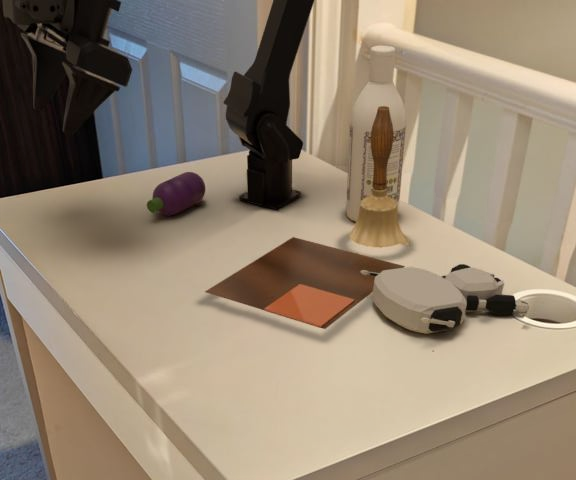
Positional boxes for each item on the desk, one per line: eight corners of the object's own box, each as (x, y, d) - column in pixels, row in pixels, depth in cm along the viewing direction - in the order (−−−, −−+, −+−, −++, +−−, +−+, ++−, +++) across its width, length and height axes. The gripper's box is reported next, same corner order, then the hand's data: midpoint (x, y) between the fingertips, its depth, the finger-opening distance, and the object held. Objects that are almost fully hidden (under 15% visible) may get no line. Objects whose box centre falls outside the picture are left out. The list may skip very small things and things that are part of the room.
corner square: (299, 285, 92) (299, 283, 92) (354, 301, 89) (354, 299, 89) (264, 310, 87) (264, 308, 87) (320, 327, 85) (320, 325, 84)
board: (293, 246, 103) (293, 236, 102) (404, 275, 97) (405, 265, 96) (205, 301, 92) (204, 291, 91) (324, 339, 85) (325, 328, 84)
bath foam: (408, 217, 110) (425, 49, 97) (371, 230, 107) (382, 57, 94) (372, 202, 114) (383, 39, 101) (335, 214, 111) (341, 47, 98)
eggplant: (188, 196, 116) (186, 165, 113) (212, 202, 114) (210, 171, 112) (140, 219, 110) (136, 187, 107) (165, 226, 108) (162, 193, 105)
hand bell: (360, 263, 99) (368, 121, 89) (332, 237, 105) (337, 101, 95) (421, 252, 102) (436, 113, 91) (390, 228, 107) (401, 94, 97)
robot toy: (463, 288, 96) (351, 304, 90) (471, 249, 93) (356, 264, 87) (530, 334, 88) (411, 356, 82) (541, 294, 85) (419, 314, 79)
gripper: (-9, -74, 90) (-42, 74, 97) (56, -42, 79) (13, 123, 86) (83, -28, 98) (47, 106, 105) (154, 7, 87) (108, 155, 93)
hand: (52, 121), depth 97 cm, fingers open, 9 cm apart
